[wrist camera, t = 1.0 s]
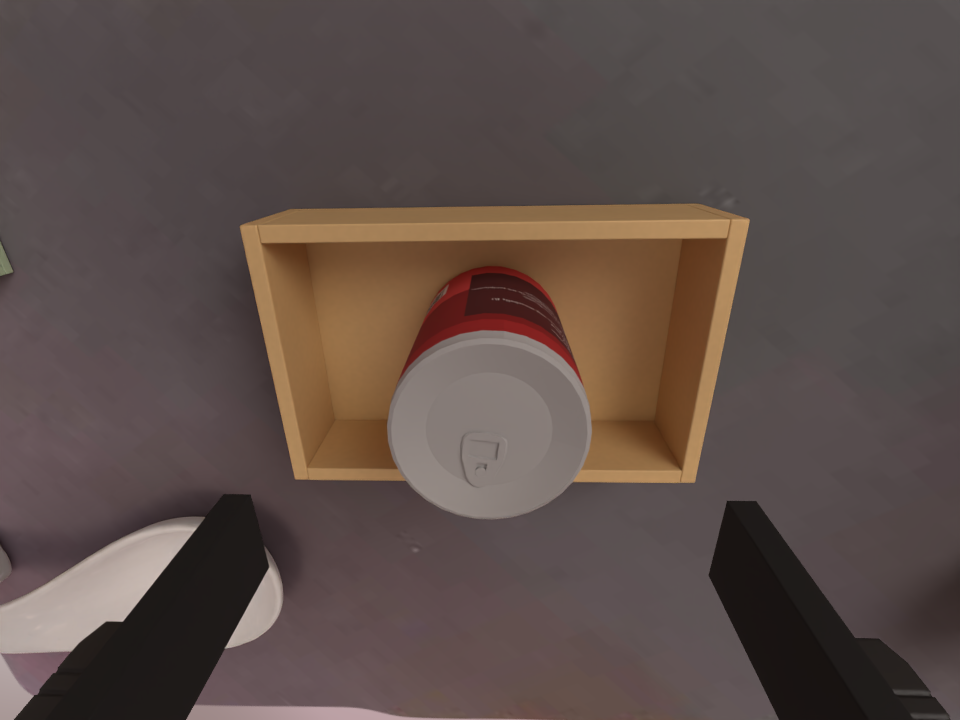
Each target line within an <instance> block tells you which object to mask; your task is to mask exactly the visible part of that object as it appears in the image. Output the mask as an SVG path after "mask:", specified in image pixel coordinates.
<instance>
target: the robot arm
mask: <svg viewBox="0 0 960 720" xmlns="http://www.w3.org/2000/svg"><path fill="white" fill-rule="evenodd" d="M268 569H269V563H268V559H267V555H266V552H265V548H264V544H263V540H262V537H261V533H260V529H259V525H258V521H257V518H256V514H255V510H254V506H253V502H252V499H251V495H239V494H224V495H223V496H222V497H221V498H220V500H219V501H218V502H217V503H216V505H215V506H214V507H213V509H212V510H211V511H210V512H209V514H208V515H207V516H206V517H205V519H204V520H203V521H202V522H201V524H200V525H199V526H198V527H197V529H196V530H195V531H194V532H193V534H192V535H191V536H190V538H189V539H188V540H187V541H186V543H185V544H184V545H183V546H182V548H181V549H180V550H179V551H178V553H177V554H176V555H175V556H174V558H173V559H172V560H171V562H170V563H169V564H168V565H167V567H166V568H165V569H164V570H163V572H162V573H161V574H160V575H159V577H158V578H157V579H156V580H155V582H154V583H153V584H152V585H151V587H150V588H149V589H148V591H147V592H146V593H145V594H144V596H143V597H142V598H141V599H140V601H139V602H138V603H137V604H136V606H135V607H134V608H133V609H132V611H131V612H130V613H129V614H128V616H127V617H126V618H125V620H124V621H123V622H116V621H106V622H105V623H104V624H102V625H101V626H100V627H98V628H97V629H96V630H95V631H93V632H92V633H91V634H90V635H88V636H87V637H86V638H85V639H83V640H82V641H81V642H79V643H78V645H77V646H76V647H75V648H74V649H73V651H72V652H71V653H70V654H69V655H68V656H67V658H66V659H65V660H64V661H63V662H62V664H61V665H60V666H59V667H58V670H57V672H56V673H53V674H52V675H51V677H50V678H49V679H48V680H47V681H46V682H45V684H44V685H43V686H42V687H41V688H40V691H39V693H38V695H34V697H33V698H32V699H31V700H30V701H29V702H28V704H27V705H26V706H25V707H24V708H23V710H22V711H21V712H20V713H19V714H18V716H17V717H16V718H15V719H14V720H186V719H187V717H188V715H189V713H190V711H191V710H192V708H193V706H194V704H195V702H196V701H197V699H198V697H199V695H200V693H201V691H202V690H203V688H204V686H205V684H206V682H207V680H208V679H209V677H210V675H211V673H212V671H213V669H214V668H215V666H216V664H217V662H218V660H219V658H220V657H221V655H222V653H223V651H224V649H225V647H226V646H227V644H228V642H229V640H230V638H231V636H232V635H233V633H234V631H235V629H236V627H237V626H238V624H239V622H240V620H241V618H242V616H243V615H244V613H245V611H246V609H247V607H248V605H249V604H250V602H251V600H252V598H253V596H254V594H255V593H256V591H257V589H258V587H259V585H260V583H261V582H262V580H263V578H264V576H265V574H266V572H267V571H268ZM709 577H710V579H711V581H712V583H713V585H714V587H715V589H716V591H717V593H718V595H719V598H720V600H721V602H722V604H723V606H724V608H725V610H726V612H727V614H728V616H729V618H730V620H731V622H732V624H733V626H734V628H735V630H736V632H737V634H738V636H739V639H740V641H741V643H742V645H743V647H744V649H745V651H746V653H747V655H748V657H749V659H750V661H751V663H752V665H753V667H754V669H755V671H756V673H757V675H758V677H759V680H760V682H761V684H762V686H763V688H764V690H765V692H766V694H767V696H768V698H769V700H770V702H771V704H772V706H773V708H774V710H775V712H776V714H777V716H778V718H779V720H950V718H949V715H948V713H947V712H946V711H945V710H944V708H943V707H942V706H941V704H940V703H939V702H938V701H937V699H936V698H935V697H932V696H931V694H930V691H929V689H928V688H927V687H926V685H925V684H924V683H923V682H922V680H921V679H920V678H919V677H918V675H917V674H916V673H915V672H914V670H913V669H912V668H911V666H910V665H909V664H908V663H907V662H906V661H905V660H903V659H902V658H901V657H900V656H899V655H897V654H896V653H895V652H894V651H893V650H892V649H890V648H889V647H888V646H887V645H886V644H884V643H883V642H882V641H881V640H880V639H871V638H855V637H854V636H853V634H852V633H851V632H850V630H849V629H848V628H847V626H846V625H845V623H844V622H843V621H842V619H841V618H840V616H839V615H838V614H837V612H836V611H835V610H834V608H833V607H832V605H831V604H830V603H829V601H828V600H827V599H826V597H825V596H824V594H823V593H822V592H821V590H820V589H819V587H818V586H817V585H816V583H815V582H814V581H813V579H812V578H811V576H810V575H809V574H808V572H807V571H806V569H805V568H804V567H803V565H802V564H801V563H800V561H799V560H798V558H797V557H796V556H795V554H794V553H793V552H792V550H791V549H790V547H789V546H788V545H787V543H786V542H785V540H784V539H783V538H782V536H781V535H780V534H779V532H778V531H777V529H776V528H775V527H774V525H773V524H772V522H771V521H770V520H769V518H768V517H767V516H766V514H765V513H764V511H763V510H762V509H761V507H760V506H759V505H758V503H757V502H756V501H727V504H726V508H725V512H724V516H723V520H722V524H721V528H720V532H719V536H718V540H717V544H716V548H715V552H714V556H713V560H712V564H711V568H710V572H709Z"/></svg>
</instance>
